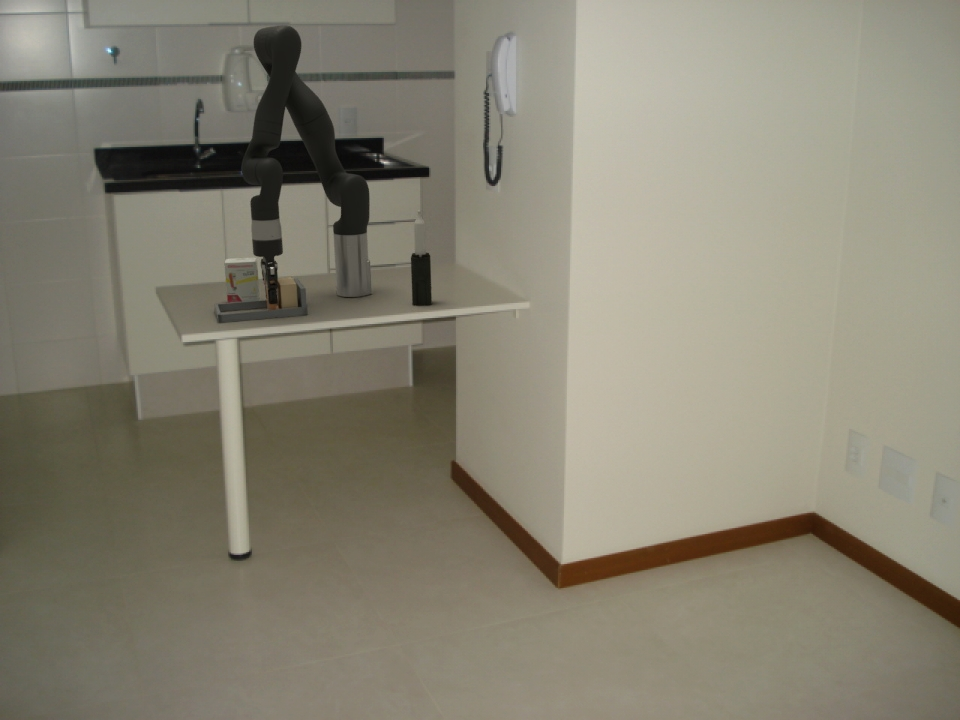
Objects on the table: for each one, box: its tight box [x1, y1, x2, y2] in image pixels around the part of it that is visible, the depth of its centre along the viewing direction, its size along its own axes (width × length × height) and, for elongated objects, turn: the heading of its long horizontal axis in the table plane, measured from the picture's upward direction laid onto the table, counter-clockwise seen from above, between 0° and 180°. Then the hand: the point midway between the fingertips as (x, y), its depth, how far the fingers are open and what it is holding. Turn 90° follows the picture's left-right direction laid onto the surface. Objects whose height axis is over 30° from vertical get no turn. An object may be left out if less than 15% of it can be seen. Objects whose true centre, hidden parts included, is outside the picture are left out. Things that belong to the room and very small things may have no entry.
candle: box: [410, 209, 433, 306], centre depth 265 cm, size 5×5×25 cm
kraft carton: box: [277, 276, 298, 309], centre depth 262 cm, size 4×9×8 cm, turn 18°
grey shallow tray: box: [213, 278, 308, 324], centre depth 260 cm, size 22×13×7 cm, turn 108°
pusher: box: [265, 281, 279, 310], centre depth 260 cm, size 2×10×8 cm, turn 18°
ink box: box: [224, 257, 261, 303], centre depth 271 cm, size 9×5×12 cm, turn 100°
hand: (271, 301), depth 261 cm, fingers closed on pusher, 5 cm apart
